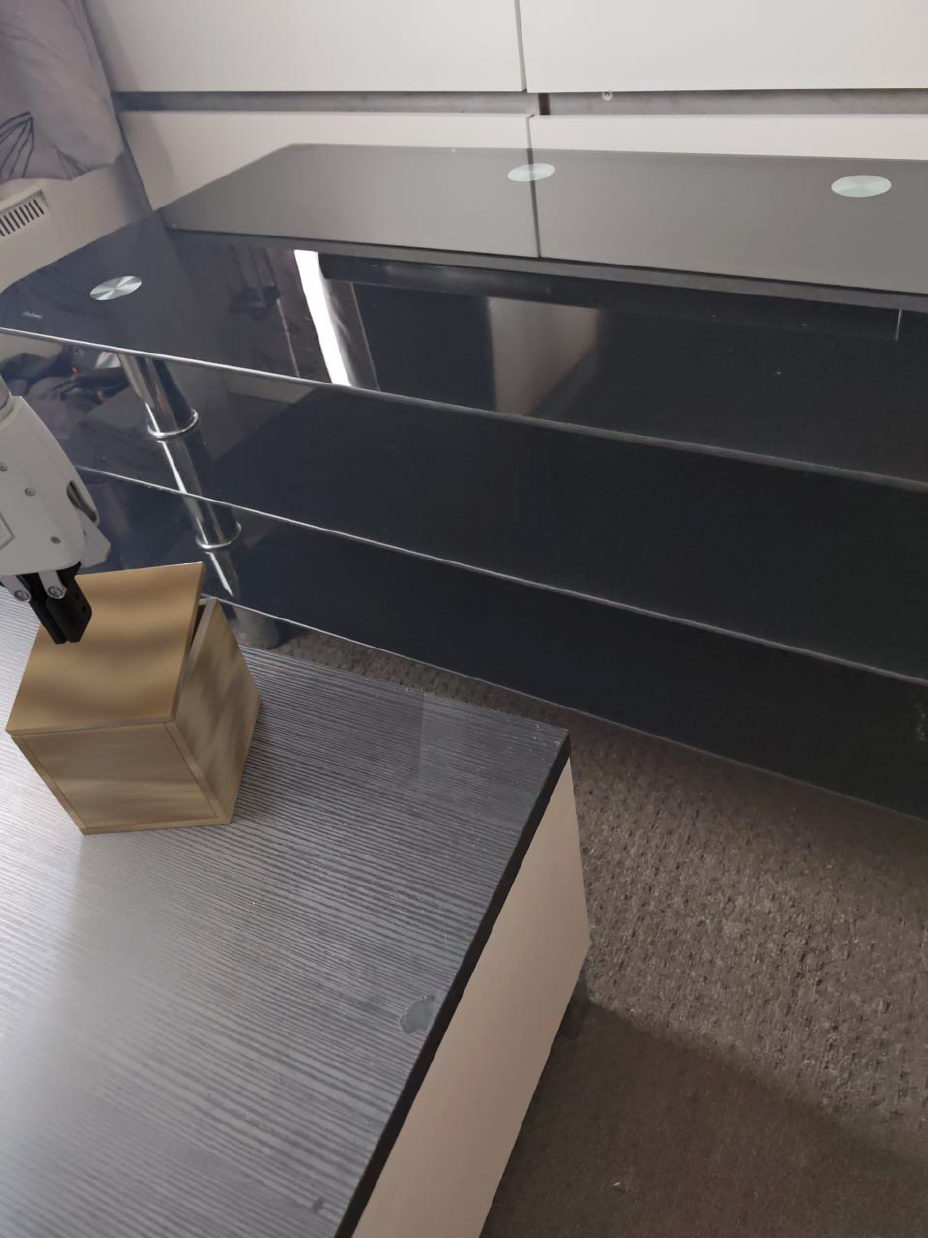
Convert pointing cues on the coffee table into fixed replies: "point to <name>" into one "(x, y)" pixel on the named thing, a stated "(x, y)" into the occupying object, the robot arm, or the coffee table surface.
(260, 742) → the coffee table surface
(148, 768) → the box
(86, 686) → the lid
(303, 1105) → the coffee table surface
